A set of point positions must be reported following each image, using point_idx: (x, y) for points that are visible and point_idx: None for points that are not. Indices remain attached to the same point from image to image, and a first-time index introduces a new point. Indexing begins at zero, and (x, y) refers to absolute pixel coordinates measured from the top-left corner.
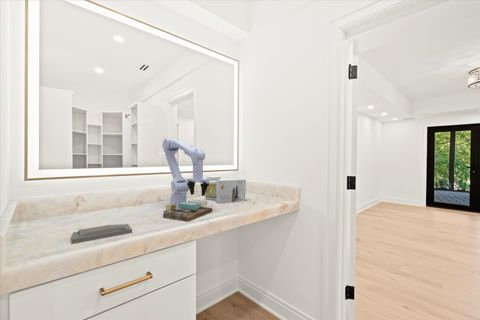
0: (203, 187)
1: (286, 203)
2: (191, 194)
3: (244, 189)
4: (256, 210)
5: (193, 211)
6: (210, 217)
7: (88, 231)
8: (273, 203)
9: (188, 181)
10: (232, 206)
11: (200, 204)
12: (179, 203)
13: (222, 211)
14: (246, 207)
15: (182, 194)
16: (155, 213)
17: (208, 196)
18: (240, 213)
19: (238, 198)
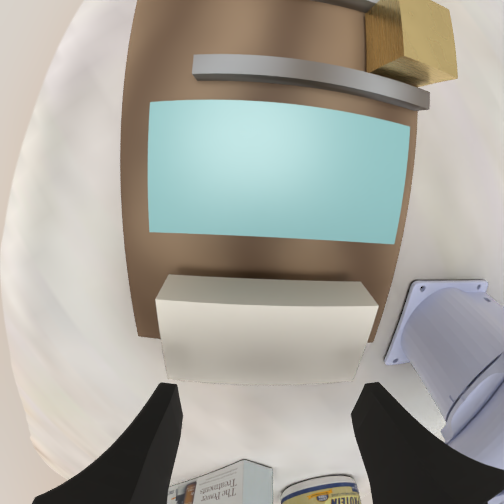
0: (75, 477)
1: (40, 455)
2: (371, 386)
3: None
4: (15, 381)
5: None
6: (61, 166)
7: None
8: (61, 459)
9: None
10: None
11: (191, 287)
12: (403, 129)
13: (95, 340)
14: (74, 421)
15: (472, 376)
16: (496, 124)
17: (333, 487)
18: (10, 323)
19: (176, 494)
